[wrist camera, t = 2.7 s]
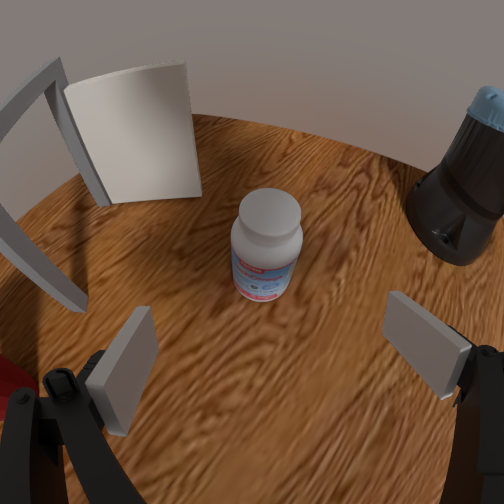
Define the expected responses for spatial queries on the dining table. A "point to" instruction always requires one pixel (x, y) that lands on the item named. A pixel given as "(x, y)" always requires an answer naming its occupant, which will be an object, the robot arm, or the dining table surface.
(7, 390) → the plastic cup
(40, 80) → the door frame
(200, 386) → the dining table surface
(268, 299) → the pill bottle
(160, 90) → the door
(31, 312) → the dining table surface
